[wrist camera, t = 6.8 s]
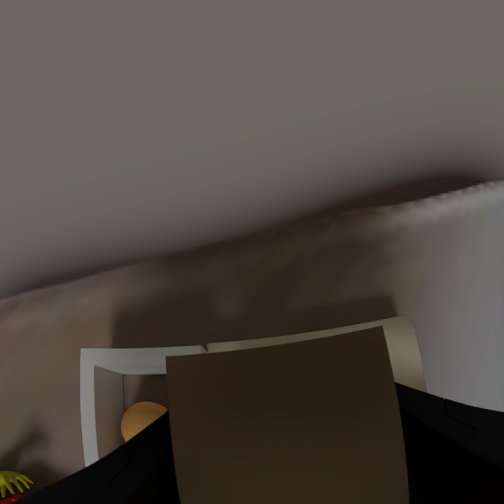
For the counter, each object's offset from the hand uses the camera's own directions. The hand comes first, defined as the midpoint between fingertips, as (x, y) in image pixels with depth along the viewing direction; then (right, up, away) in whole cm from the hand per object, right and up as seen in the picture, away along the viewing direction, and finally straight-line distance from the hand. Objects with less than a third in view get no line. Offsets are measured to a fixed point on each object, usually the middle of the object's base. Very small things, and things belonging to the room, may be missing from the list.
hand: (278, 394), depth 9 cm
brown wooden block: (+1, -5, +6) cm, 7 cm away
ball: (-7, -6, +6) cm, 11 cm away
